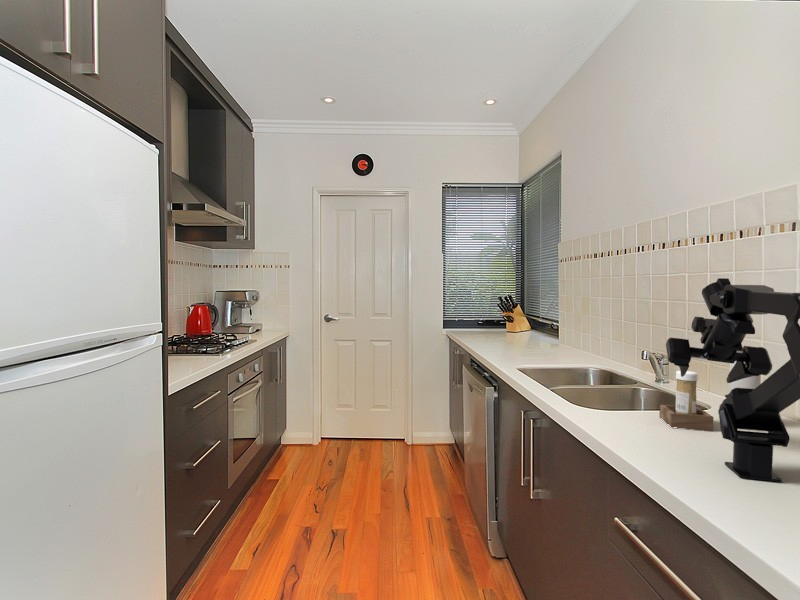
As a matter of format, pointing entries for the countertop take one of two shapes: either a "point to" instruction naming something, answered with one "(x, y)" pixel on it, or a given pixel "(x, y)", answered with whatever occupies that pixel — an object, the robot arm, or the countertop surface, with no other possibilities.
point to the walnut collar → (686, 418)
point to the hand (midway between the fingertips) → (704, 378)
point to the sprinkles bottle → (686, 393)
